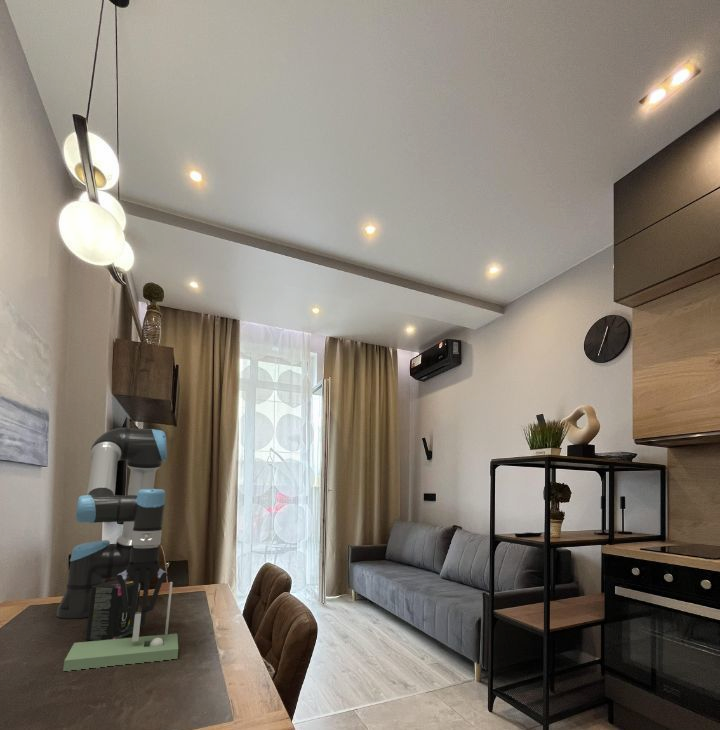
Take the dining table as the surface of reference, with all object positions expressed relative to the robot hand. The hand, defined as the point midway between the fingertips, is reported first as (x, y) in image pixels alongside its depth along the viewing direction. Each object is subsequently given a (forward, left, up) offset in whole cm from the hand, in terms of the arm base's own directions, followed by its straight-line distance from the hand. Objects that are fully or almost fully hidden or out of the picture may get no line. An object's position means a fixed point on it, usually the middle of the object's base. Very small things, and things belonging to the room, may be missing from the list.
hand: (135, 639), depth 129 cm
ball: (0, +5, -2) cm, 6 cm away
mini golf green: (0, -2, -4) cm, 4 cm away
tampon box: (-20, -7, -4) cm, 22 cm away
